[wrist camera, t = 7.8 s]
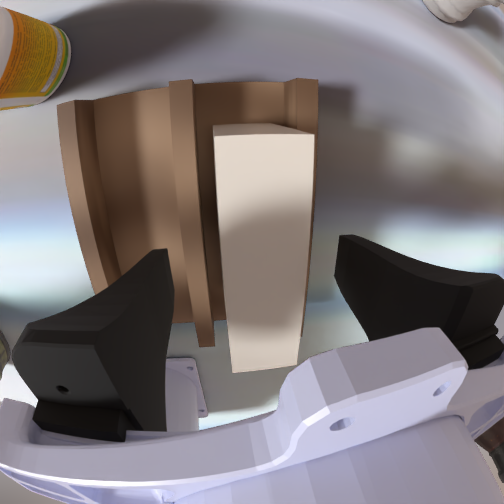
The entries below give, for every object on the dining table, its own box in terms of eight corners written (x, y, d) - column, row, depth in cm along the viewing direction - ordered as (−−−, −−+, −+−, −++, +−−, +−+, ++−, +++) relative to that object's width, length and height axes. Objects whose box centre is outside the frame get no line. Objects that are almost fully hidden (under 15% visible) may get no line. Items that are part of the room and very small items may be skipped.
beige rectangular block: (269, 283, 19) (296, 365, 13) (223, 287, 19) (232, 373, 13) (269, 123, 14) (314, 134, 8) (212, 125, 14) (214, 136, 8)
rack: (289, 304, 21) (301, 336, 18) (114, 316, 20) (103, 349, 17) (296, 84, 14) (318, 79, 11) (70, 107, 13) (40, 110, 10)
